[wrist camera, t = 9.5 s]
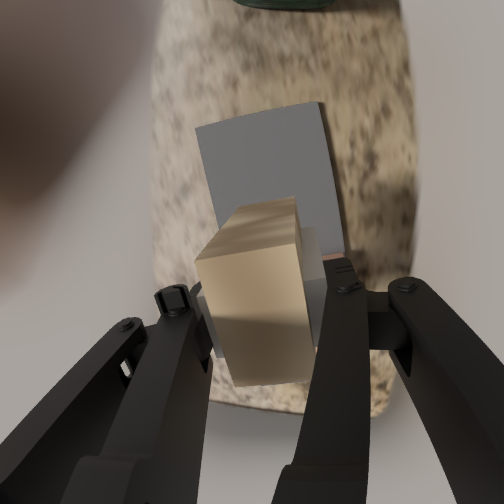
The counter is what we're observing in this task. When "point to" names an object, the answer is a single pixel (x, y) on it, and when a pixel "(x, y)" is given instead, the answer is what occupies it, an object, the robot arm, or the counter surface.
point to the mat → (274, 168)
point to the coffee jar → (286, 3)
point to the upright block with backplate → (260, 294)
